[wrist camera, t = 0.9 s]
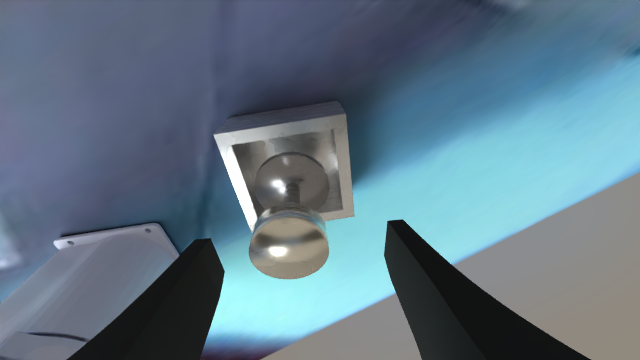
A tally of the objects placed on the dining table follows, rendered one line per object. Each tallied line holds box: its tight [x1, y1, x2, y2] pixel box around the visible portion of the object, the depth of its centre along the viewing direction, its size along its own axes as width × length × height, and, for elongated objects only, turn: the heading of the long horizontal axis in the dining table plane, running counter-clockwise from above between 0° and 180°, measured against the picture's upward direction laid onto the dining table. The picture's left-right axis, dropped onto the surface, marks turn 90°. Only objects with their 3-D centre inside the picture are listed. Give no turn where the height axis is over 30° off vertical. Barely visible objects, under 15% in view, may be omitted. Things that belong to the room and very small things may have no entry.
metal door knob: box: [249, 152, 329, 279], centre depth 13 cm, size 5×5×6 cm
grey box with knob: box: [214, 100, 354, 232], centre depth 19 cm, size 8×10×4 cm
